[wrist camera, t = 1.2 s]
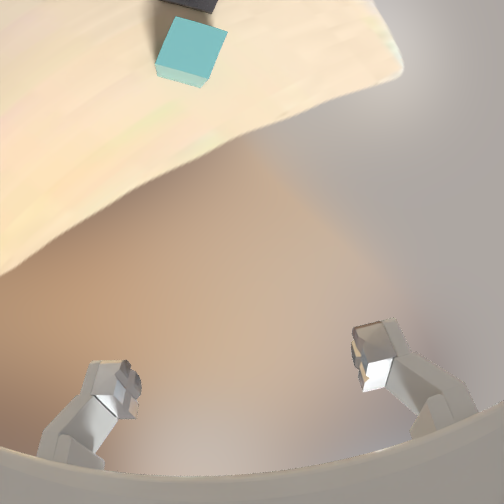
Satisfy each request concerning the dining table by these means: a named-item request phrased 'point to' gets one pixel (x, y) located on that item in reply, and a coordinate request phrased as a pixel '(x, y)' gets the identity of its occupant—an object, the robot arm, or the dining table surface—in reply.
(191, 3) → the post
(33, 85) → the dining table surface
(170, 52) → the teal rectangular block
